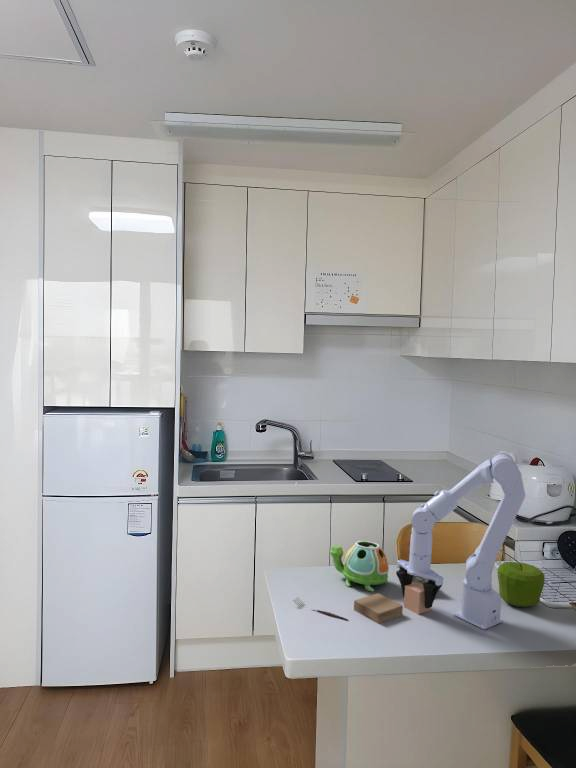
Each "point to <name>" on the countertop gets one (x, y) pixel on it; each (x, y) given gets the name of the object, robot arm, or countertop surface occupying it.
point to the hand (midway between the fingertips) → (417, 601)
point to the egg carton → (419, 580)
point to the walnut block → (378, 608)
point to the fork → (319, 610)
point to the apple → (520, 583)
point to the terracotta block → (415, 598)
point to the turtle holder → (362, 564)
